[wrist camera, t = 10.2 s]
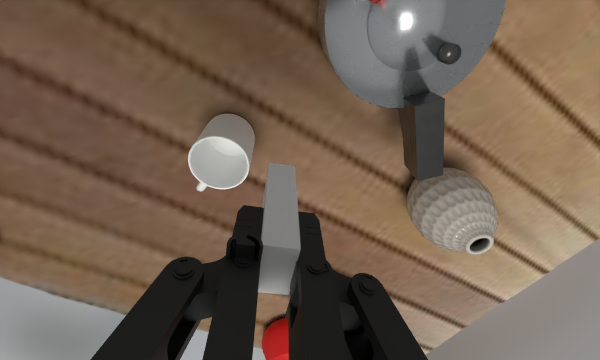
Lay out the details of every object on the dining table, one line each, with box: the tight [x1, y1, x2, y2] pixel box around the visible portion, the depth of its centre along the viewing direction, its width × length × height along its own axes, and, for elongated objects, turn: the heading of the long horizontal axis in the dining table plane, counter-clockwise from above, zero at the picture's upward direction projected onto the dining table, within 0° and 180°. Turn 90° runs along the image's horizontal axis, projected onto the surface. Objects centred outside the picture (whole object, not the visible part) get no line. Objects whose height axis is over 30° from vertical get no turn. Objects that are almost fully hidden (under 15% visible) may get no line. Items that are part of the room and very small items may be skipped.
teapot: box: [262, 318, 289, 360], centre depth 73 cm, size 25×16×12 cm, turn 156°
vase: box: [407, 167, 498, 255], centre depth 47 cm, size 13×13×17 cm
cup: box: [188, 114, 255, 191], centre depth 43 cm, size 8×12×10 cm
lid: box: [323, 0, 506, 181], centre depth 29 cm, size 31×19×5 cm, turn 14°
